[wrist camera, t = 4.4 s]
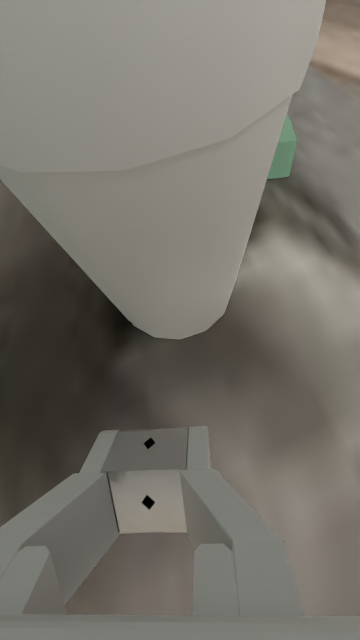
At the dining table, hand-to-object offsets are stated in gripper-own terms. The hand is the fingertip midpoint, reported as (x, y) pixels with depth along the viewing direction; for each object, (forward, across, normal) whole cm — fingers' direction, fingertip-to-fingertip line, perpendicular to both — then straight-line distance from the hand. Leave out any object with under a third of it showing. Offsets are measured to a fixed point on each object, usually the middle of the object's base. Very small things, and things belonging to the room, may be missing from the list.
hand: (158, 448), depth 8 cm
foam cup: (+10, 0, -3) cm, 10 cm away
